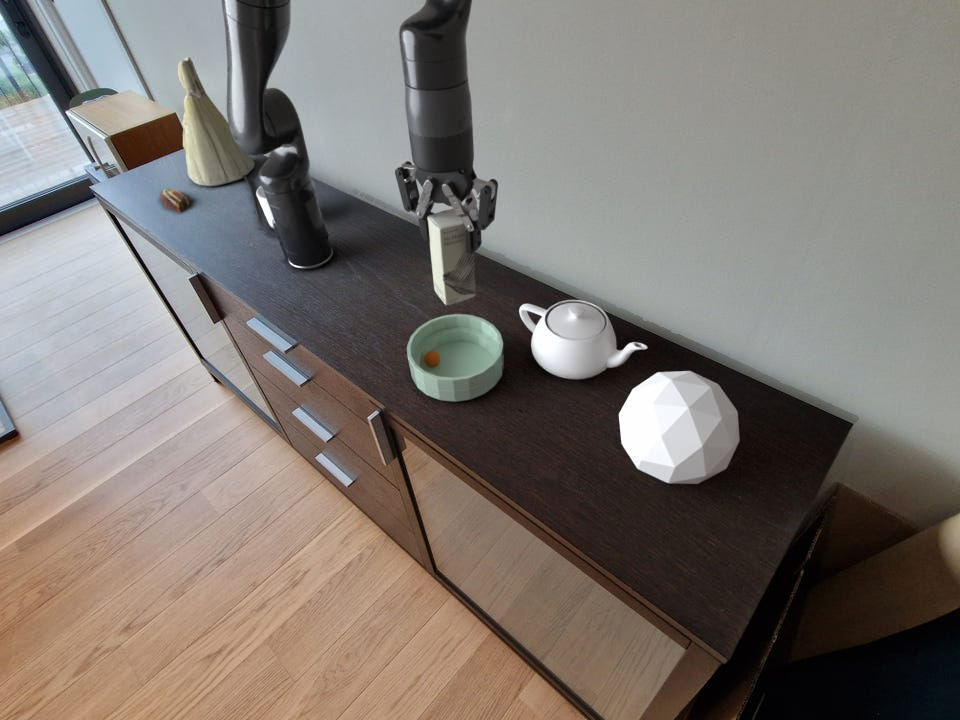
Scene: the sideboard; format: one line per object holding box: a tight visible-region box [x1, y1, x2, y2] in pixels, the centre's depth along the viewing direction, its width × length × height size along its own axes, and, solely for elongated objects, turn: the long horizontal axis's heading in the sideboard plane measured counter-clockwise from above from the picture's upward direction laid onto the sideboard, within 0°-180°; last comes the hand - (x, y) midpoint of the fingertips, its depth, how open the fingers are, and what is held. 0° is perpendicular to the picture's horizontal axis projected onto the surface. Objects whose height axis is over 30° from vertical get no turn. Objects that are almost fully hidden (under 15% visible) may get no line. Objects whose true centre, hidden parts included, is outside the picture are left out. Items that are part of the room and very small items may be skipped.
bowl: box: [406, 313, 505, 403], centre depth 86 cm, size 15×15×6 cm
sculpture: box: [177, 55, 255, 187], centre depth 136 cm, size 17×18×30 cm
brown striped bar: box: [160, 188, 191, 213], centre depth 135 cm, size 14×6×2 cm, turn 49°
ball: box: [424, 351, 440, 367], centre depth 87 cm, size 3×3×3 cm
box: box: [427, 208, 477, 306], centre depth 74 cm, size 5×4×13 cm
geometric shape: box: [618, 370, 740, 485], centre depth 68 cm, size 14×15×15 cm
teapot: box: [518, 299, 649, 380], centre depth 84 cm, size 22×14×11 cm, turn 54°
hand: (451, 244), depth 73 cm, fingers closed on box, 6 cm apart
